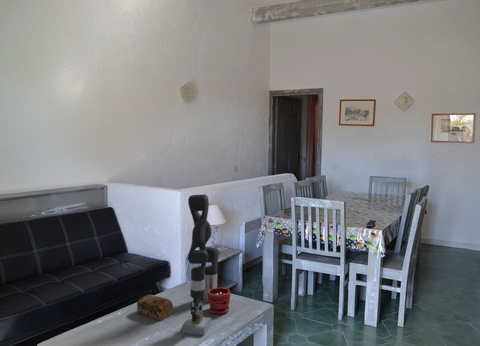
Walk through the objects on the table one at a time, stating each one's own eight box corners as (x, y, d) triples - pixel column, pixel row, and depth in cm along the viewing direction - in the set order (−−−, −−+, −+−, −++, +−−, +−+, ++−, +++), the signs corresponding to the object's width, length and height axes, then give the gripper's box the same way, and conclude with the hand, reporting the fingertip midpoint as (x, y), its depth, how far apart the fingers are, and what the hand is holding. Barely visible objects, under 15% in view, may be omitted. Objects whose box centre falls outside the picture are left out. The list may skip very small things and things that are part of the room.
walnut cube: (194, 318, 209) (194, 309, 208) (202, 319, 208) (202, 310, 207) (191, 322, 204) (191, 313, 204) (199, 323, 203) (199, 314, 203)
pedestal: (190, 322, 213) (190, 315, 213) (211, 325, 211) (211, 317, 211) (182, 332, 202) (182, 324, 201) (204, 335, 199) (204, 327, 199)
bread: (173, 315, 222) (173, 298, 222) (160, 322, 213) (160, 304, 213) (149, 307, 232) (149, 291, 231) (136, 313, 223) (136, 296, 222)
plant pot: (231, 306, 235) (231, 287, 235) (228, 316, 222) (228, 295, 222) (209, 305, 237) (210, 286, 236) (205, 314, 224) (206, 294, 223)
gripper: (195, 282, 212) (194, 311, 214) (186, 291, 199) (185, 322, 200) (208, 283, 211) (207, 312, 212) (200, 293, 197) (199, 324, 198)
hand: (197, 317), depth 206 cm, fingers open, 8 cm apart
